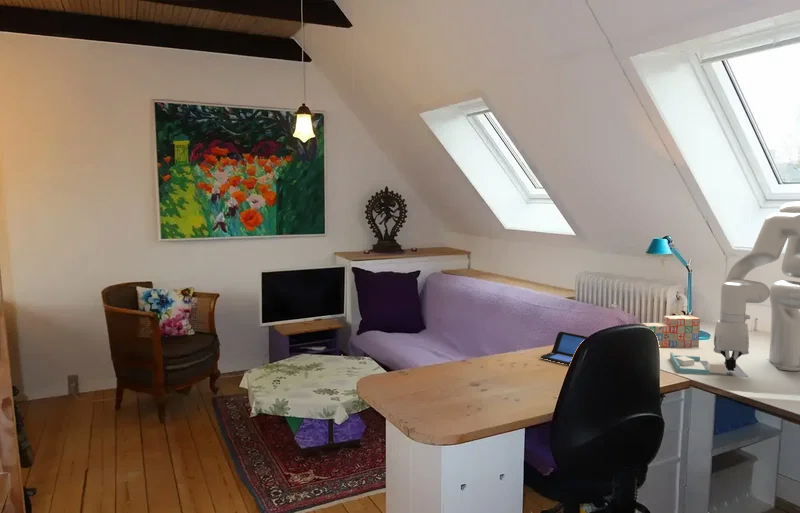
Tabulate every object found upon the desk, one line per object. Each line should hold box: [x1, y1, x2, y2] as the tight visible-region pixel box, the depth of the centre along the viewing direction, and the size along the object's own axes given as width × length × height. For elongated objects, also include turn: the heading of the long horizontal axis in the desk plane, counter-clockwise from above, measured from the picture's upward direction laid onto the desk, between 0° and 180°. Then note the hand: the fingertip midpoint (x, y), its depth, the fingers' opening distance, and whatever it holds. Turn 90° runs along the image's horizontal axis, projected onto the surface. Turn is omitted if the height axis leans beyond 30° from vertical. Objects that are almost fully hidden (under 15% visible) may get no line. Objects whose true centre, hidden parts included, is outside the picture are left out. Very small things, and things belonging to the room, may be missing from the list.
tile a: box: [675, 355, 695, 367], centre depth 215 cm, size 5×4×3 cm
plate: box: [699, 360, 749, 378], centre depth 208 cm, size 12×17×2 cm
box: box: [669, 352, 710, 376], centre depth 211 cm, size 10×17×4 cm, turn 163°
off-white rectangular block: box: [706, 360, 726, 374], centre depth 205 cm, size 5×4×3 cm
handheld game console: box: [540, 331, 588, 367], centre depth 227 cm, size 16×13×9 cm
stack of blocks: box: [641, 314, 701, 349], centre depth 244 cm, size 21×6×12 cm, turn 89°
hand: (730, 369), depth 204 cm, fingers closed
